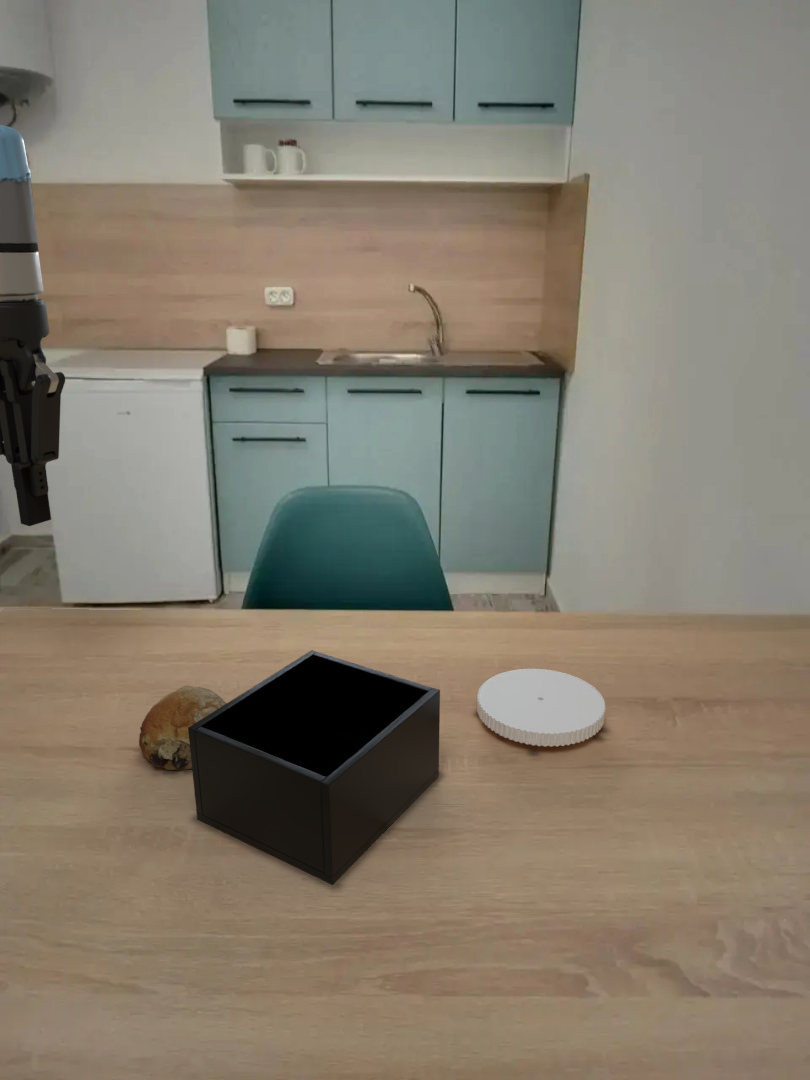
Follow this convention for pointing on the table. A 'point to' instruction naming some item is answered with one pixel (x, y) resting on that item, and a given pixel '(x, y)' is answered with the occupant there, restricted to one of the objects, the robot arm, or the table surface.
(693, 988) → the table surface
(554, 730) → the plastic lid
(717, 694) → the table surface
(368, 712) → the black storage bin
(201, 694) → the bread roll
